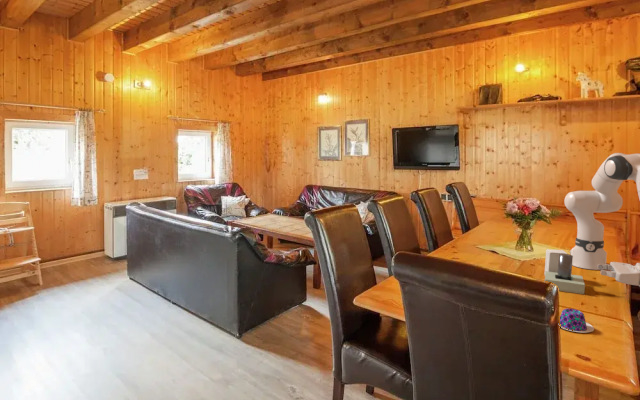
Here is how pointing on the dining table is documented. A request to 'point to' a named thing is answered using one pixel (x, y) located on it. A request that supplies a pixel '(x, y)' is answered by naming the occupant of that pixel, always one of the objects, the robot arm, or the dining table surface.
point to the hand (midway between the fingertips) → (599, 269)
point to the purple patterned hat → (574, 321)
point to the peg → (565, 266)
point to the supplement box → (552, 260)
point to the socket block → (567, 282)
